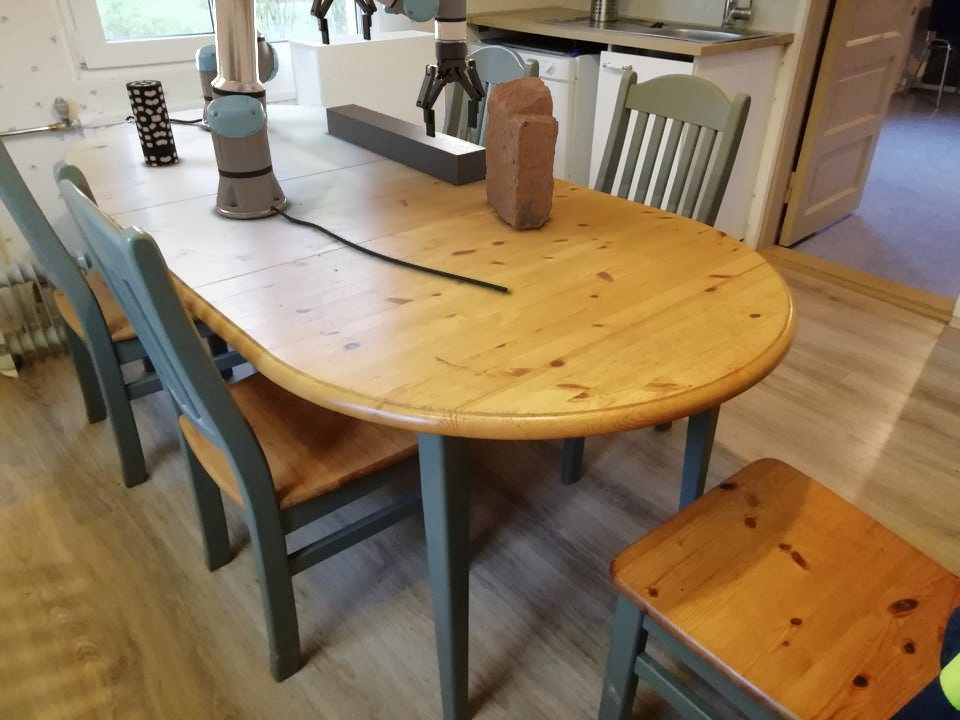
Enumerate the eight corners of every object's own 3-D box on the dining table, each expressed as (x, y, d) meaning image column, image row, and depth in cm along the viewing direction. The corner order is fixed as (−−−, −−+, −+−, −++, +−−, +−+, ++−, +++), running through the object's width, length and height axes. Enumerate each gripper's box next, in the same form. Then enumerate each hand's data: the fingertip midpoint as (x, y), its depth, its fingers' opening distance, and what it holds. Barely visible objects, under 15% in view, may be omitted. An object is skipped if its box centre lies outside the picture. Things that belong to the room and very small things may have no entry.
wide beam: (486, 177, 179) (487, 148, 174) (457, 185, 173) (457, 155, 169) (355, 128, 219) (353, 103, 214) (328, 133, 213) (325, 108, 209)
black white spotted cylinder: (184, 157, 190) (167, 80, 179) (169, 166, 183) (151, 87, 172) (155, 156, 190) (136, 79, 179) (139, 165, 183) (119, 86, 172)
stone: (564, 226, 149) (572, 89, 135) (516, 232, 146) (519, 92, 132) (527, 198, 167) (531, 73, 153) (483, 203, 164) (483, 76, 149)
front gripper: (480, 34, 173) (479, 121, 184) (398, 43, 159) (403, 137, 170) (500, 37, 168) (498, 126, 179) (417, 47, 154) (421, 143, 165)
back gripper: (371, -46, 195) (376, 36, 206) (291, -44, 181) (301, 44, 192) (386, -45, 190) (390, 39, 201) (305, -43, 176) (314, 47, 187)
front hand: (452, 131), depth 175 cm, fingers open, 13 cm apart
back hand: (347, 42), depth 197 cm, fingers open, 13 cm apart
